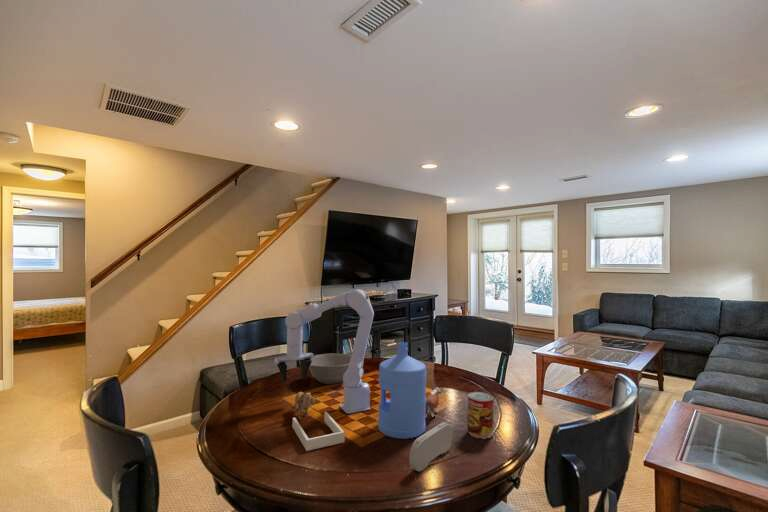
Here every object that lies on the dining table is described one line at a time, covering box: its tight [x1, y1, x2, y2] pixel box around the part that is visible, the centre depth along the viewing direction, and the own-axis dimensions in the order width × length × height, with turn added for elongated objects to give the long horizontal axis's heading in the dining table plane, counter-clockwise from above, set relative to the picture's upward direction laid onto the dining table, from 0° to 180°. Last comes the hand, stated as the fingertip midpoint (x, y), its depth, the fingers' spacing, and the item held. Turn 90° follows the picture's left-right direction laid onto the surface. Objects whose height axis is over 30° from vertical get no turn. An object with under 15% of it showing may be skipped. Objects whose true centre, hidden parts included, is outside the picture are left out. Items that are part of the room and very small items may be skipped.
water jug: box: [377, 341, 427, 440], centre depth 119 cm, size 16×16×28 cm
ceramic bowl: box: [308, 352, 352, 385], centre depth 165 cm, size 22×23×10 cm
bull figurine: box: [425, 387, 443, 419], centre depth 130 cm, size 4×13×8 cm, turn 155°
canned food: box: [467, 391, 494, 435], centre depth 116 cm, size 8×8×12 cm
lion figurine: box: [293, 391, 316, 420], centre depth 129 cm, size 15×5×9 cm, turn 34°
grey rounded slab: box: [408, 421, 454, 472], centre depth 100 cm, size 20×2×8 cm, turn 140°
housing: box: [292, 411, 346, 452], centre depth 113 cm, size 12×17×3 cm
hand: (293, 380), depth 136 cm, fingers open, 7 cm apart
